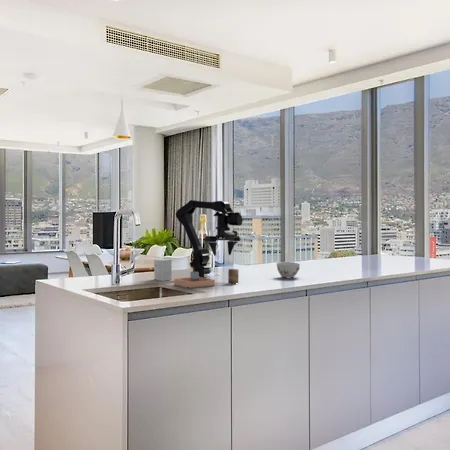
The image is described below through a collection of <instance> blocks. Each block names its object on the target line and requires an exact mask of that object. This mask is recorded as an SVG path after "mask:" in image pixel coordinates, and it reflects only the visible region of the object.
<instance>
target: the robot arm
mask: <svg viewBox="0 0 450 450" xmlns="http://www.w3.org/2000/svg"><path fill="white" fill-rule="evenodd" d="M197 208H198V209H208V210H209V209H210V210H212V211H215V213H214V214H213V217H216V218H217V220H216V227H215V230H216V235H206V236H205V237H204V242H206V243H207V244H208V245H209V247H210V249H211V252H212V253H213V256H217V245H218V241H227V242H226V243H227V252H228V256H231V254H232V252H233V249H234V246H235V245H236V244H238V243H239V242H240V241H241V237H240V235H239V234H238V230H236V229H235V230H231V228H230V227H229V226H236V227H237V226H238V227H239V226H241V225H242V224H243V221H244V220H243V216H242V214H241V212H240V211H236V212H234V211H233V208H232V206H231V204H230V202H229V201H228V200H216V201H202V200H196V199H191V200H189V201H188V202H187V203H185V204H184V205H182V206H181V207H180V208H178V209H177V210H176V212H175V218H176V219H177V221H178V222H179V223H180V224H181V225H182V226H183V228H184V231H185V233H186V235H187V238H188V240H189V243H190V245H191V248H192V258H193V259H192V260H191V261H190V262H189V266H190V268H192V271H197V272H199V277H202V278H208V277H207V276H206V275H205V272H206V271H205V267H207V265H208V263H209V261H210V259H211V258H210V257H211V256H210V254H209V250H208V248H204V247H203V246H202V244H201V242H200V239H199V237H198V234H197V231H196V229H195V227H194V224H193V214H194V212H195V210H196V209H197Z"/></svg>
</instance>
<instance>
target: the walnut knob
mask: <svg viewBox="0 0 450 450" xmlns="http://www.w3.org/2000/svg"><path fill="white" fill-rule="evenodd" d="M227 272H228V273H227V274H228V278H227V279H228V283H231V284H230V285H237V284H236V283H238V284H239V269H238V268H229V269H228V271H227Z"/></svg>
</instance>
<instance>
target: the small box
mask: <svg viewBox="0 0 450 450" xmlns="http://www.w3.org/2000/svg"><path fill="white" fill-rule="evenodd" d="M153 261H154V262H153V264H154V265H153V268H154V270H153V271H154V272H153V273H154V274H153V275H154V278H153V279H154V280H155V279H156V281H161V282H166V281H172V273H173V272H172V259H167V258H157V259H156V258H155V259H153Z"/></svg>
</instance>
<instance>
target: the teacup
mask: <svg viewBox="0 0 450 450" xmlns="http://www.w3.org/2000/svg"><path fill="white" fill-rule="evenodd" d="M300 265H301V264H300V263H297V262H289V261H279V262H277V263H276V268H277V271H278V273H279V275H280V276H281V278H283V277H293V278H294V277H296V276H297V274H298V272H299V270H300Z"/></svg>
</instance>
